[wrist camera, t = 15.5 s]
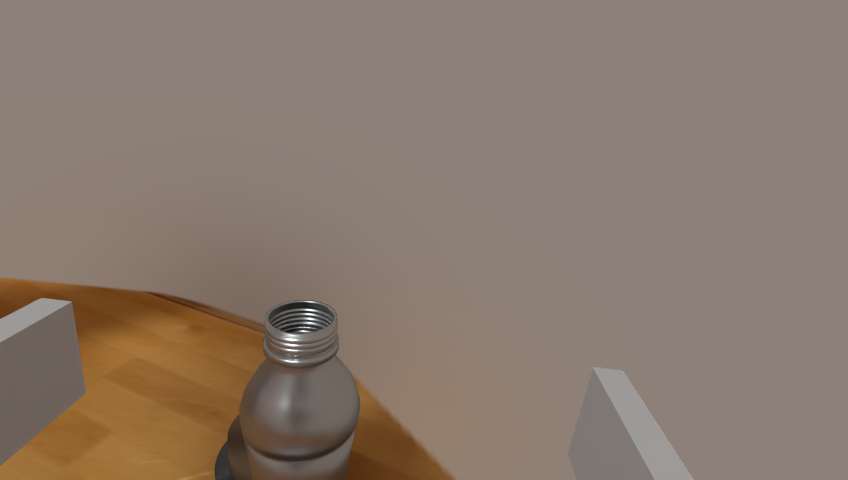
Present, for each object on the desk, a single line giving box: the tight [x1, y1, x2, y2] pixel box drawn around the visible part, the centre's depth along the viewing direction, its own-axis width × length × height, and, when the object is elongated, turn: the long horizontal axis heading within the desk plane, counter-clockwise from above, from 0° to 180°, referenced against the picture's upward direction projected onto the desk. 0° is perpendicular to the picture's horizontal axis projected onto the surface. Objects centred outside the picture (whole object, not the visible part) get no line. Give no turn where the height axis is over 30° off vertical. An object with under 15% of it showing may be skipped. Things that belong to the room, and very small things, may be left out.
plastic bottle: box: [239, 300, 360, 480], centre depth 26 cm, size 6×7×20 cm
